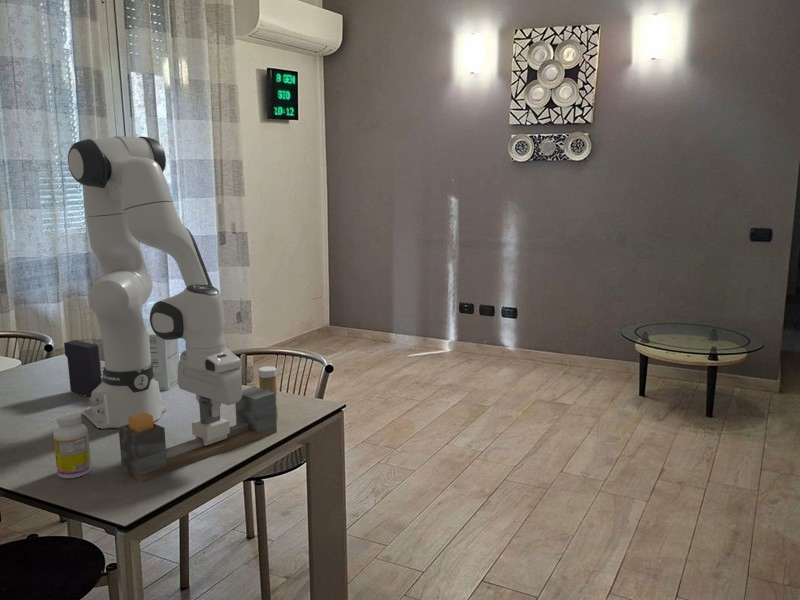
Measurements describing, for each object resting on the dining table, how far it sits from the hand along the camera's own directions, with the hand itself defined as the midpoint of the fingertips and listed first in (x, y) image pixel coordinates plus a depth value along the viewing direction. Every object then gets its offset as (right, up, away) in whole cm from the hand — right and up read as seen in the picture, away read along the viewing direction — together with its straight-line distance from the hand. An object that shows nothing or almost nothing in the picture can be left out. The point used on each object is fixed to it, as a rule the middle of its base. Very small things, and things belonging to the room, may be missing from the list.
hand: (210, 414), depth 163 cm
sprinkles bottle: (+10, -4, +20) cm, 23 cm away
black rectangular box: (-46, -1, +41) cm, 62 cm away
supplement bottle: (-26, -11, -11) cm, 30 cm away
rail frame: (-1, -8, 0) cm, 8 cm away
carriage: (0, -6, +1) cm, 6 cm away
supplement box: (-28, +1, +48) cm, 56 cm away
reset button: (-11, -3, -12) cm, 17 cm away
